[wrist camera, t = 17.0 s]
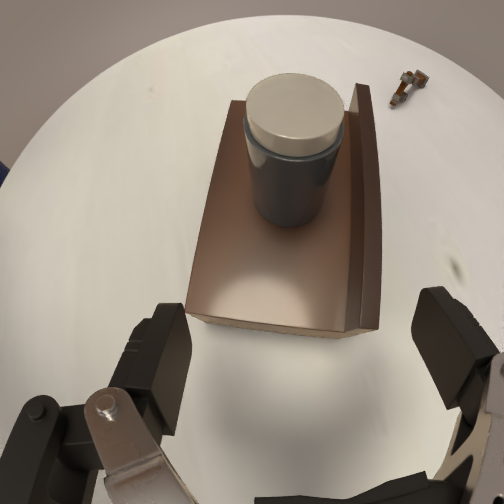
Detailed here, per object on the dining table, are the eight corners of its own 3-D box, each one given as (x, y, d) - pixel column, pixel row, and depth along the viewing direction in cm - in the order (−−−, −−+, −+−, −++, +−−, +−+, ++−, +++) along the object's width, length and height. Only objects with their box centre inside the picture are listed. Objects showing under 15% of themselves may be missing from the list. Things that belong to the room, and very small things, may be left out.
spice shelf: (205, 322, 23) (166, 303, 14) (238, 145, 28) (226, 71, 19) (339, 339, 22) (378, 330, 13) (346, 156, 27) (369, 85, 18)
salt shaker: (247, 223, 18) (231, 137, 11) (257, 162, 20) (249, 67, 12) (321, 231, 18) (351, 150, 10) (324, 169, 19) (346, 76, 12)
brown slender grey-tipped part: (381, 100, 28) (399, 67, 24) (402, 95, 32) (417, 67, 28) (395, 110, 27) (414, 77, 23) (414, 103, 31) (430, 76, 28)
